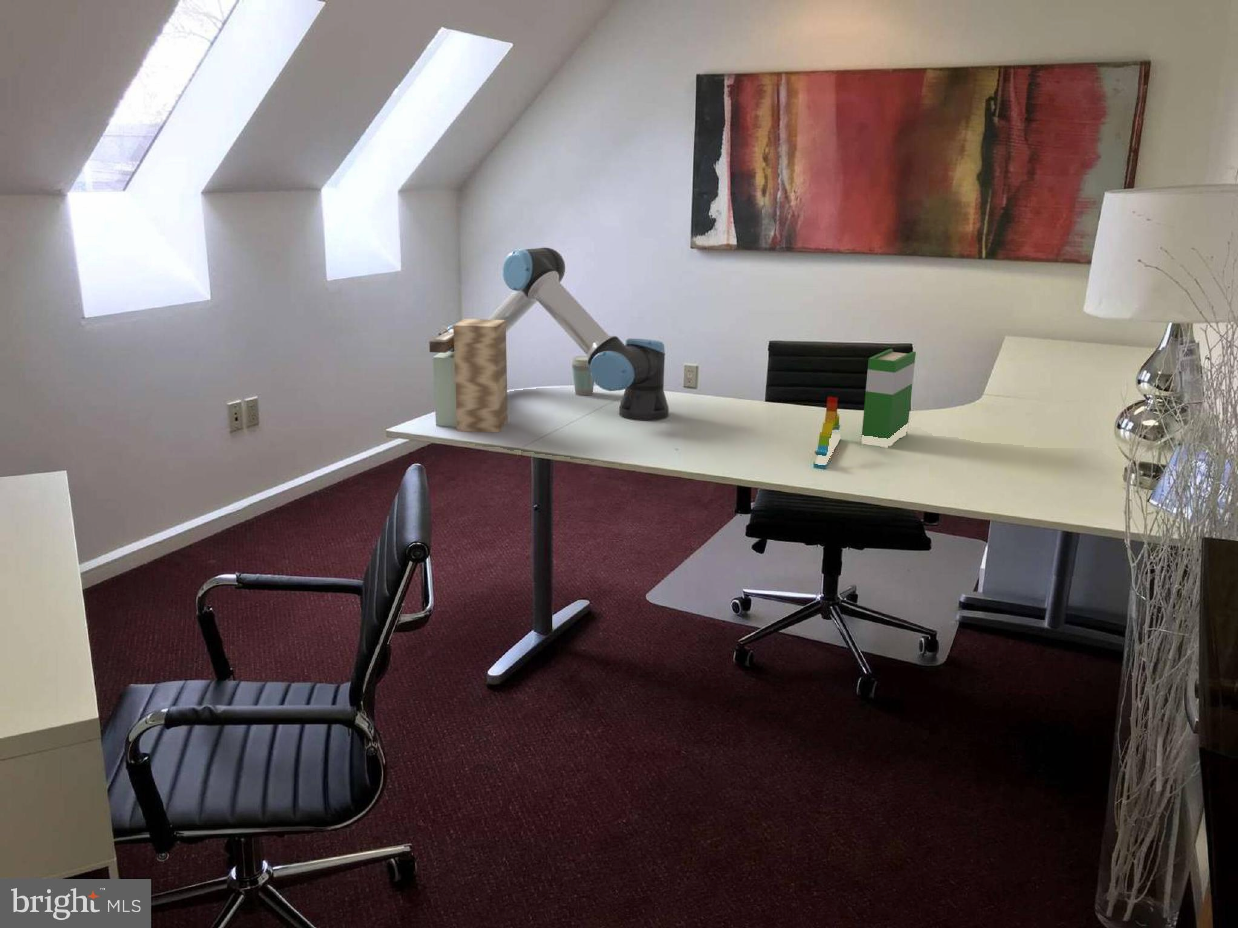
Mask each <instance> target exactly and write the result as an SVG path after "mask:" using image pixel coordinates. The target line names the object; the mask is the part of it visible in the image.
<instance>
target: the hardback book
mask: <svg viewBox="0 0 1238 928" xmlns="http://www.w3.org/2000/svg"><path fill="white" fill-rule="evenodd" d="M916 354H917V352H916V351H910V352H909V353H905V352H904V353H903V352H895V351H894V349H893V348H889V349H887V350H884V351H882V352H880V353H877V354H875V355H874V356H873V355H872V356H871V357H869V358H868V361H867V362H868V363H867V373H866V374H867V375H866V384H865V396H864V406H863V416H862V417H863V418H862V426H861V427H862V428H861V436H862V435H864V436H873V437H878V438H887V439H888V438H890V437H891V436H892V435H894V433H896V432H897V431H898V430H900V428H902V427H903V426H904V425H906V424H907V423H908V424H909V421H910V420H909V419H910V410H911V400H912V393H913V381H914V372H915V365H916V356H917V355H916Z"/></svg>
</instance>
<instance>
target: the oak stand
mask: <svg viewBox="0 0 1238 928" xmlns="http://www.w3.org/2000/svg"><path fill="white" fill-rule="evenodd" d="M452 325H453V332H454V359H455V386H456V413H457V426H456V430H457V432H458V431H459V432H478V433H479V432H480V433H481V432H482V433H500V431H502V429H503V428H504V427H505V425H506V424H507V423H508V421H509V418H508V416H509V415H508V413H509V412H508V409H509V408H508V374H507V373H508V372H507V371H508V368H507V367H508V364H507V332H506V320H488V318H485V319H482V318H480V319H479V318H464V319H462V320H460V321H458V322H456V323H455V325H454V324H452Z"/></svg>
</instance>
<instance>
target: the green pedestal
mask: <svg viewBox="0 0 1238 928" xmlns="http://www.w3.org/2000/svg"><path fill="white" fill-rule="evenodd" d="M432 365H433V366H432V368H433V386H434V387H433V388H434V410H435V411H434V412H435V415H434V416H435V426H441V427H457V413H456V386H455V359H454V352H450V351H448V352H446V353H437V354H436V355H434V356H433V357H432Z"/></svg>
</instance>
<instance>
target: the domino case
mask: <svg viewBox="0 0 1238 928" xmlns="http://www.w3.org/2000/svg"><path fill="white" fill-rule="evenodd" d="M428 344H429V353H437V354H439V353H446V352H450V350H451V349H452V348H454V332H453V328H451V329H449V330H448V331H446V332H444V333H443V334H441V335H439V334H438V336H436V337H435V338H433V339H431V340H429V341H428Z"/></svg>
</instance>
